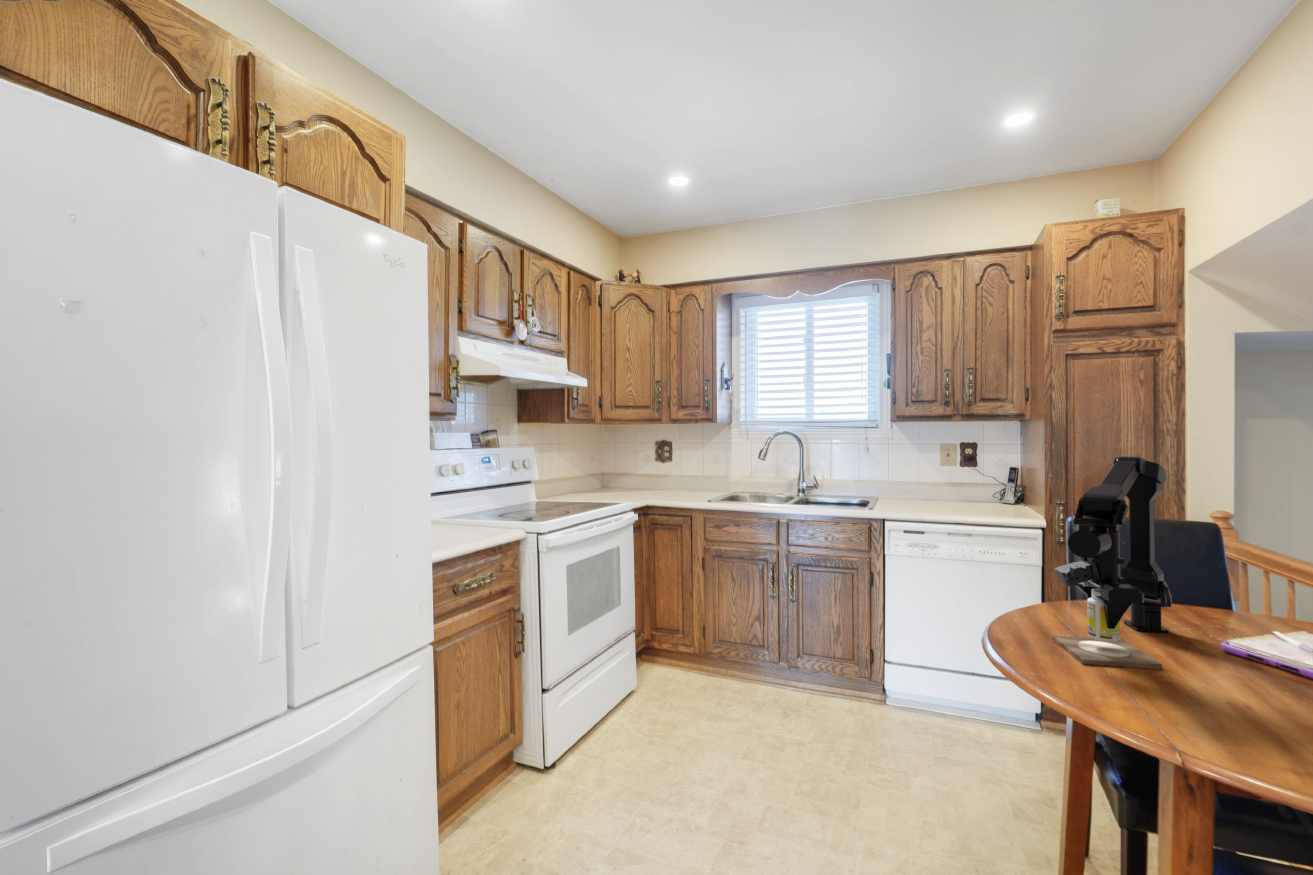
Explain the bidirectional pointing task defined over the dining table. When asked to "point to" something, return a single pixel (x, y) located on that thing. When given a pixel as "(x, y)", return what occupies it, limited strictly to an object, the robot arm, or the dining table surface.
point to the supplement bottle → (1099, 620)
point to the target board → (1106, 652)
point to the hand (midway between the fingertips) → (1103, 623)
